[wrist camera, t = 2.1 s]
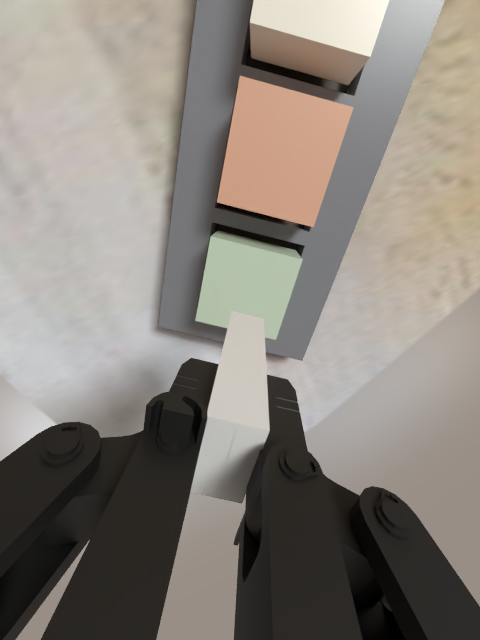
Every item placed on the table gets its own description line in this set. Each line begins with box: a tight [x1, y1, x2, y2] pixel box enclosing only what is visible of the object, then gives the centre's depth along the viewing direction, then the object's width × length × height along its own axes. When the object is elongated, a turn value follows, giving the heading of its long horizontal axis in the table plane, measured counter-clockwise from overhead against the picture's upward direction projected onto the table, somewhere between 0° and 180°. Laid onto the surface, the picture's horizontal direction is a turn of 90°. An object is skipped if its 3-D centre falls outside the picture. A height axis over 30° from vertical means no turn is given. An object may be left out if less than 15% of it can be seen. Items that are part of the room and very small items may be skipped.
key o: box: [195, 231, 303, 340], centre depth 20 cm, size 6×6×4 cm
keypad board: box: [158, 0, 445, 361], centre depth 19 cm, size 28×13×2 cm, turn 167°
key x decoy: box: [217, 76, 354, 227], centre depth 16 cm, size 6×6×4 cm
